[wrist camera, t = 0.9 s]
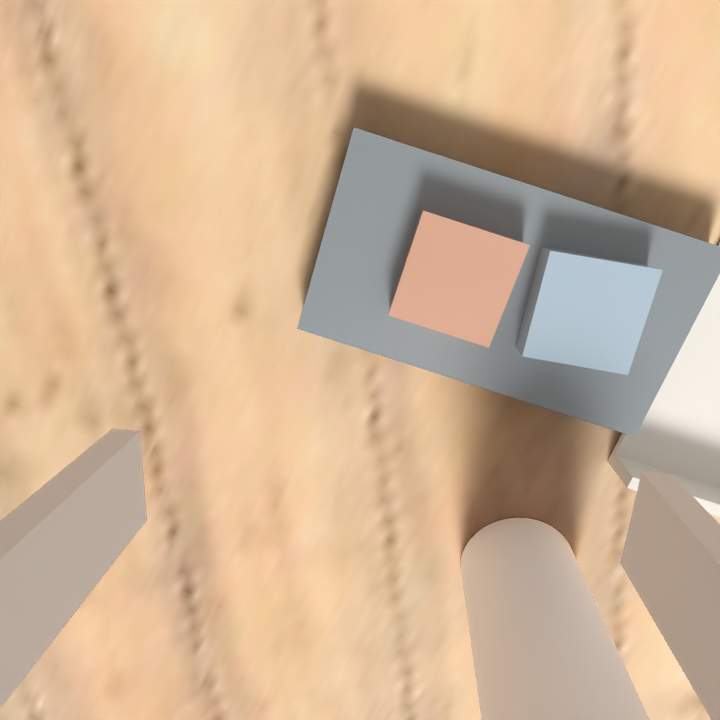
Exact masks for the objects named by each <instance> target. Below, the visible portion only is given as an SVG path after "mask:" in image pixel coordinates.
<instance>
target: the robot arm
mask: <svg viewBox="0 0 720 720" xmlns="http://www.w3.org/2000/svg"><path fill="white" fill-rule="evenodd" d="M146 520H147V515H146V502H145V489H144V475H143V462H142V449H141V436H140V431H134V430H121V429H112V430H110V431H109V432H108V433H107V434H105V435H104V436H103V437H102V438H101V439H99V440H98V441H97V442H96V443H95V444H93V445H92V446H91V447H90V448H88V449H87V450H86V451H85V452H84V453H82V454H81V455H80V456H79V457H78V458H76V459H75V460H74V461H73V462H72V463H70V464H69V465H68V466H67V467H65V468H64V469H63V470H62V471H61V472H59V473H58V474H57V475H56V476H55V477H53V478H52V479H51V480H50V481H48V482H47V483H46V484H45V485H44V486H42V487H41V488H40V489H39V490H38V491H36V492H35V493H34V494H33V495H31V496H30V497H29V498H28V499H27V500H25V501H24V502H23V503H22V504H21V505H19V506H18V507H17V508H16V509H14V510H13V511H12V512H11V513H10V514H8V515H7V516H6V517H5V518H4V519H2V520H1V521H0V709H1V707H2V706H3V705H4V703H5V702H6V701H7V700H8V698H9V697H10V696H11V694H12V693H13V692H14V691H15V689H16V688H17V687H18V685H19V684H20V683H21V682H22V680H23V679H24V678H25V676H26V675H27V674H28V672H29V671H30V670H31V669H32V667H33V666H34V665H35V663H36V662H37V661H38V660H39V658H40V657H41V656H42V654H43V653H44V652H45V651H46V649H47V648H48V647H49V645H50V644H51V643H52V642H53V640H54V639H55V638H56V636H57V635H58V634H59V633H60V631H61V630H62V629H63V627H64V626H65V625H66V623H67V622H68V621H69V620H70V618H71V617H72V616H73V614H74V613H75V612H76V611H77V609H78V608H79V607H80V605H81V604H82V603H83V602H84V600H85V599H86V598H87V596H88V595H89V594H90V593H91V591H92V590H93V589H94V587H95V586H96V585H97V584H98V582H99V581H100V580H101V578H102V577H103V576H104V574H105V573H106V572H107V571H108V569H109V568H110V567H111V565H112V564H113V563H114V562H115V560H116V559H117V558H118V556H119V555H120V554H121V553H122V551H123V550H124V549H125V547H126V546H127V545H128V544H129V542H130V541H131V540H132V538H133V537H134V536H135V535H136V533H137V532H138V531H139V529H140V528H141V527H142V525H143V524H144V523H145V522H146ZM620 563H621V565H622V567H623V568H624V570H625V572H626V573H627V575H628V577H629V579H630V580H631V582H632V584H633V585H634V587H635V589H636V591H637V592H638V594H639V596H640V598H641V599H642V601H643V603H644V604H645V606H646V608H647V610H648V611H649V613H650V615H651V616H652V618H653V620H654V622H655V623H656V625H657V627H658V629H659V630H660V632H661V634H662V635H663V637H664V639H665V641H666V642H667V644H668V646H669V647H670V649H671V651H672V653H673V654H674V656H675V658H676V660H677V661H678V663H679V665H680V666H681V668H682V670H683V672H684V673H685V675H686V677H687V678H688V680H689V682H690V684H691V685H692V687H693V689H694V691H695V692H696V694H697V696H698V697H699V699H700V701H701V703H702V704H703V706H704V708H705V709H706V711H707V713H708V715H709V716H710V718H711V720H720V524H719V523H718V522H717V521H716V520H715V519H714V518H713V517H712V516H711V515H710V514H709V513H708V512H707V511H706V510H705V508H704V507H703V506H702V505H701V504H700V503H699V502H698V501H697V500H696V499H695V498H694V497H693V496H692V495H691V494H690V493H689V492H688V490H687V489H686V488H685V487H684V486H683V485H682V484H681V483H680V482H679V481H678V480H677V479H676V478H675V477H674V476H673V475H672V474H660V473H648V472H641V477H640V481H639V485H638V489H637V494H636V498H635V502H634V507H633V511H632V515H631V519H630V524H629V528H628V532H627V537H626V541H625V545H624V550H623V554H622V558H621V562H620Z"/></svg>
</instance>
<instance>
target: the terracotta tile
mask: <svg viewBox="0 0 720 720" xmlns="http://www.w3.org/2000/svg"><path fill="white" fill-rule="evenodd" d="M529 247H530V245H529V244H526V243H524V242H522V241H519V240H516V239H512V238H509V237H506V236H503V235H500V234H497V233H494V232H491V231H488V230H485V229H482V228H478V227H475V226H472V225H469V224H466V223H463V222H460V221H457V220H454V219H451V218H448V217H445V216H441V215H438V214H435V213H432V212H429V211H426V210H423V209H422V212H421V215H420V218H419V221H418V224H417V227H416V230H415V233H414V236H413V239H412V242H411V245H410V248H409V251H408V254H407V257H406V260H405V263H404V266H403V269H402V272H401V275H400V278H399V281H398V284H397V287H396V290H395V293H394V296H393V299H392V302H391V305H390V308H389V316H392V317H395V318H398V319H401V320H404V321H407V322H411V323H414V324H417V325H420V326H423V327H426V328H429V329H432V330H435V331H439V332H442V333H445V334H448V335H451V336H454V337H457V338H460V339H463V340H467V341H470V342H473V343H476V344H479V345H482V346H485V347H488V348H489V346H490V344H491V341H492V339H493V336H494V334H495V331H496V329H497V326H498V324H499V321H500V319H501V316H502V314H503V312H504V309H505V307H506V304H507V302H508V299H509V297H510V294H511V292H512V289H513V287H514V284H515V282H516V279H517V277H518V274H519V272H520V269H521V267H522V264H523V262H524V259H525V257H526V254H527V252H528V249H529Z"/></svg>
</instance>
